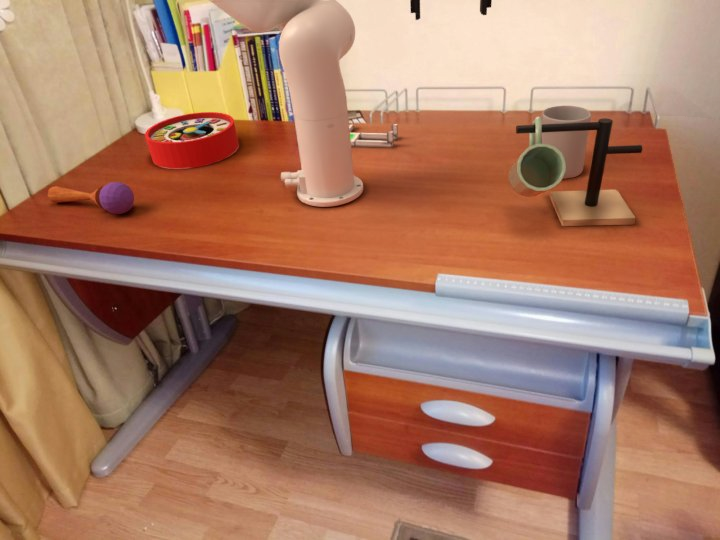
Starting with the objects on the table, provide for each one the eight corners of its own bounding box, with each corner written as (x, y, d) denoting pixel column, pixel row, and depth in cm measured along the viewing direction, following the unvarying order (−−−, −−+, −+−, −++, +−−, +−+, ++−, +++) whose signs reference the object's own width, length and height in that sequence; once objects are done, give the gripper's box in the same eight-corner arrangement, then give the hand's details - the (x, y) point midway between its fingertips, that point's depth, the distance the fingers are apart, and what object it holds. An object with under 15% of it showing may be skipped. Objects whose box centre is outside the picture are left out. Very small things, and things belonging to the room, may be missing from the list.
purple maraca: (63, 176, 111) (136, 179, 103) (72, 204, 114) (144, 209, 105) (37, 183, 106) (111, 187, 98) (46, 213, 109) (120, 218, 100)
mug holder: (513, 227, 88) (522, 136, 80) (505, 199, 97) (512, 113, 88) (637, 224, 86) (659, 130, 78) (618, 195, 94) (636, 107, 86)
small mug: (551, 196, 90) (566, 189, 81) (508, 197, 90) (517, 191, 81) (551, 126, 89) (565, 112, 80) (507, 128, 90) (516, 114, 81)
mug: (579, 181, 100) (588, 122, 94) (531, 176, 103) (537, 119, 97) (588, 156, 109) (597, 101, 102) (543, 152, 112) (550, 98, 106)
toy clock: (125, 136, 123) (191, 108, 136) (134, 160, 126) (197, 131, 140) (187, 148, 113) (251, 117, 127) (194, 174, 117) (256, 141, 130)
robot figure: (403, 129, 129) (315, 127, 135) (402, 115, 127) (313, 114, 133) (386, 157, 116) (290, 154, 122) (385, 142, 114) (288, 139, 120)
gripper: (515, -131, 74) (506, 7, 84) (387, -119, 76) (393, 15, 86) (524, -133, 68) (513, 16, 78) (384, -120, 70) (391, 25, 80)
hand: (450, 15), depth 82 cm, fingers open, 9 cm apart
